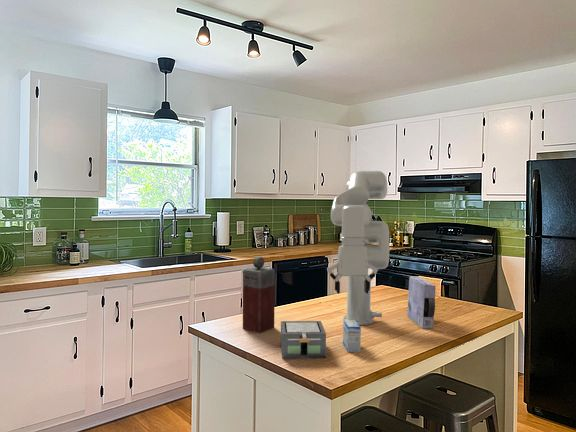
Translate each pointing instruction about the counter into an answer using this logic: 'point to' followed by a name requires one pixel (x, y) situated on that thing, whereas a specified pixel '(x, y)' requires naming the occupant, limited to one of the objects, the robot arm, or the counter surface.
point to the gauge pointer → (304, 340)
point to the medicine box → (351, 336)
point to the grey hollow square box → (303, 343)
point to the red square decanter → (258, 297)
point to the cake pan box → (421, 302)
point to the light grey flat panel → (302, 328)
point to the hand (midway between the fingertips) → (352, 292)
